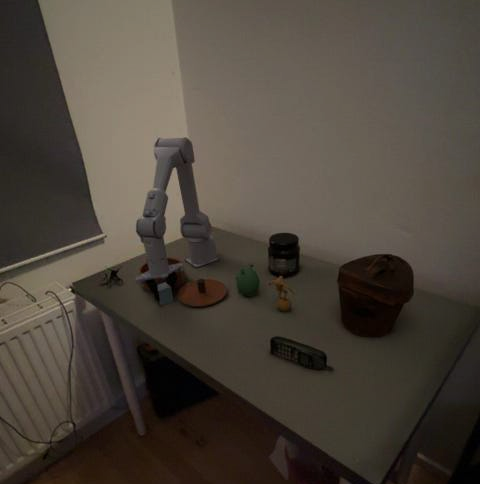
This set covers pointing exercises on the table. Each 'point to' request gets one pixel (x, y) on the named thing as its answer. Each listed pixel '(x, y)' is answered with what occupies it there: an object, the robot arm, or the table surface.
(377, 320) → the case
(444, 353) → the table surface
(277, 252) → the supplement container
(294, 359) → the mobile phone
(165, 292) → the block
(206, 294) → the lid
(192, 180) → the robot arm
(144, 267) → the pot
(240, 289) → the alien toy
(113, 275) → the creature
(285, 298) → the figurine
